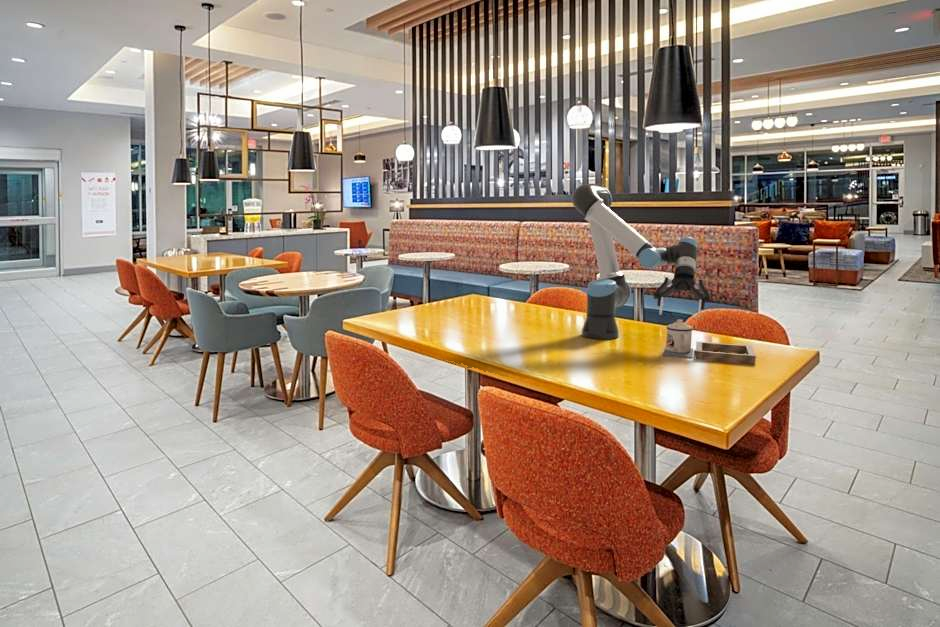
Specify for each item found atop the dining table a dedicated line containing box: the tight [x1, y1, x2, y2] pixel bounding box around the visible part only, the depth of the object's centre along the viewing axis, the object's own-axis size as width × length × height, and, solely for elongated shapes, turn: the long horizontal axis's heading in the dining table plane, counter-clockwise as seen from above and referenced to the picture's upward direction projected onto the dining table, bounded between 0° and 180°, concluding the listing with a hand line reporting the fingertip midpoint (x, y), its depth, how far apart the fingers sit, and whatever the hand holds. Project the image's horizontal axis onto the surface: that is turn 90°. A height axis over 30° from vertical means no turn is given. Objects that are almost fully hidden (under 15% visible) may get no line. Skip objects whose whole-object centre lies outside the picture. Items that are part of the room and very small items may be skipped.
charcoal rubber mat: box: [662, 345, 694, 359], centre depth 216 cm, size 10×15×1 cm, turn 159°
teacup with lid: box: [665, 319, 693, 353], centre depth 215 cm, size 12×9×12 cm
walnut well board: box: [694, 341, 757, 366], centre depth 210 cm, size 19×18×3 cm
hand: (679, 314), depth 218 cm, fingers open, 13 cm apart
